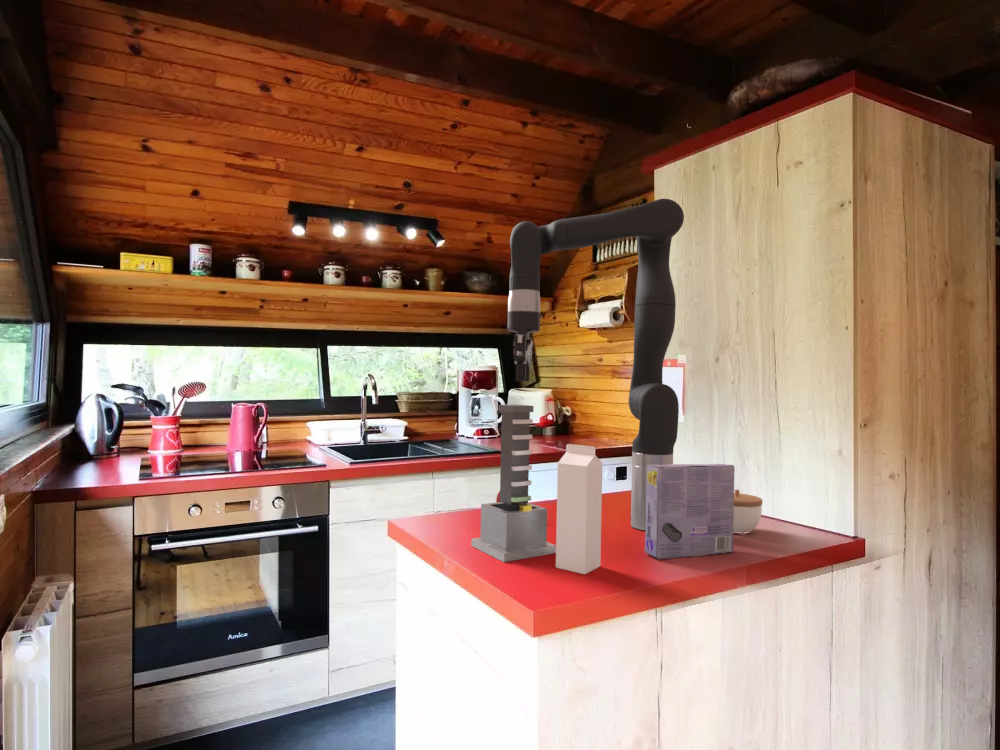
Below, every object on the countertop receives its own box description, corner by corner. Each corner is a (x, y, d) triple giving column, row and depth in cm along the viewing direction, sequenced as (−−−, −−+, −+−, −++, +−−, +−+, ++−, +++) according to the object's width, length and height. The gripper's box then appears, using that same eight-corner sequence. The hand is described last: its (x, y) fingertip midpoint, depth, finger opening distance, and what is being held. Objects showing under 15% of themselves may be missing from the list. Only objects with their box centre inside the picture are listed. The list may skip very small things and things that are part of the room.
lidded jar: (763, 529, 140) (764, 488, 140) (759, 539, 131) (760, 496, 131) (714, 523, 145) (715, 484, 145) (707, 532, 136) (708, 491, 136)
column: (517, 499, 123) (519, 404, 123) (532, 504, 118) (535, 406, 118) (496, 501, 120) (498, 404, 120) (511, 506, 115) (513, 406, 116)
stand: (520, 538, 128) (521, 493, 128) (555, 553, 117) (556, 504, 118) (471, 545, 121) (472, 498, 121) (503, 562, 111) (504, 510, 111)
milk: (571, 560, 113) (574, 442, 114) (601, 566, 110) (603, 445, 110) (554, 568, 108) (557, 444, 109) (584, 575, 105) (587, 447, 105)
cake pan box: (721, 546, 125) (723, 460, 125) (739, 553, 120) (741, 464, 120) (642, 554, 118) (644, 463, 118) (657, 561, 114) (659, 467, 114)
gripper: (537, 307, 132) (536, 382, 132) (542, 314, 146) (541, 381, 146) (503, 307, 133) (502, 381, 133) (511, 314, 147) (510, 381, 147)
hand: (522, 381), depth 139 cm, fingers open, 8 cm apart
